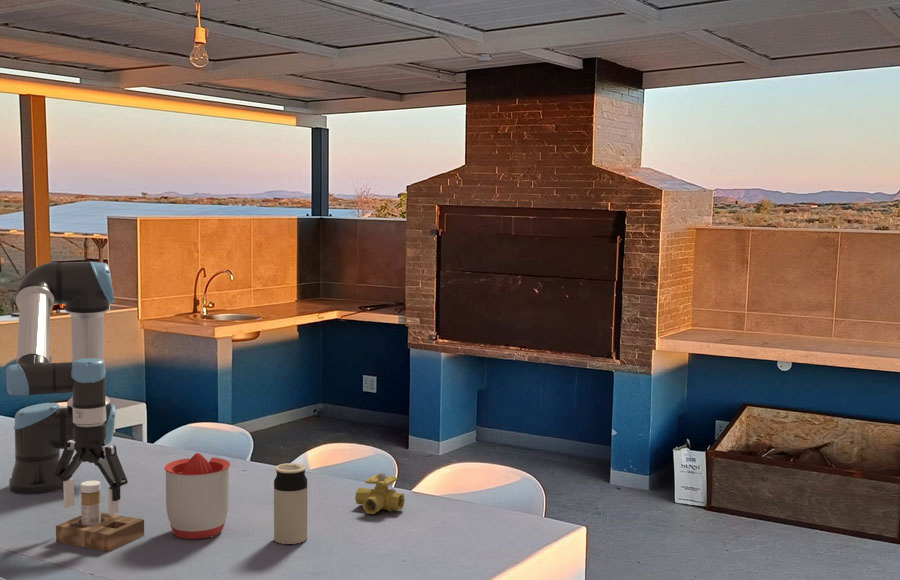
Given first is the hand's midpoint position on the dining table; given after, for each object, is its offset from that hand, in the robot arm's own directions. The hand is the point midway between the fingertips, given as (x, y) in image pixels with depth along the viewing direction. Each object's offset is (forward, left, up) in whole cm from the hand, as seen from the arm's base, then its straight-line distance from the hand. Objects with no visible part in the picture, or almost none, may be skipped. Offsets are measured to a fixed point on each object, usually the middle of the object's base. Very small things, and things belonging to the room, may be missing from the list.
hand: (91, 509), depth 225 cm
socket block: (+3, 0, -7) cm, 7 cm away
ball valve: (+54, +47, -7) cm, 72 cm away
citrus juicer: (+21, +14, -7) cm, 26 cm away
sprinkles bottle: (0, 0, -7) cm, 7 cm away
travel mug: (+45, +18, -7) cm, 49 cm away
